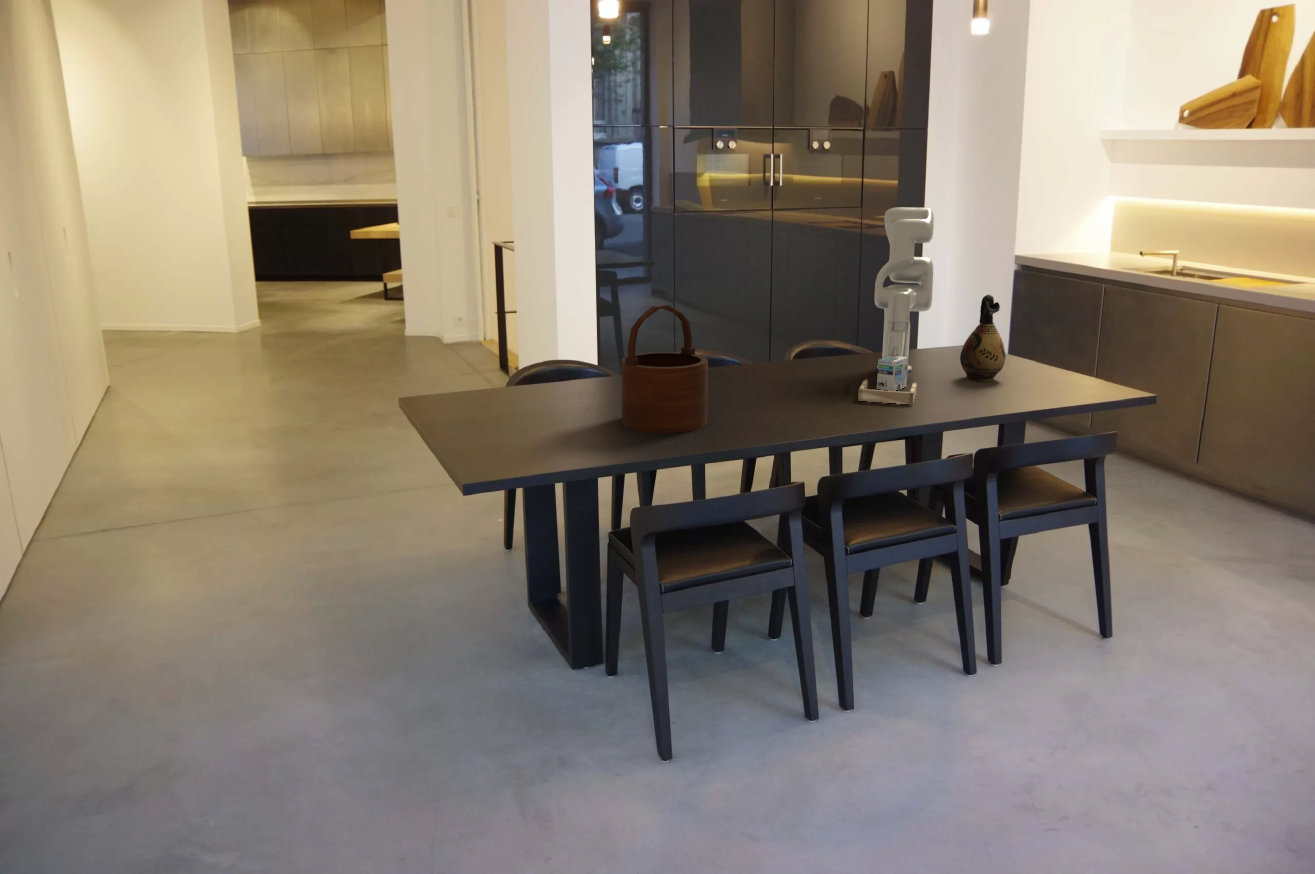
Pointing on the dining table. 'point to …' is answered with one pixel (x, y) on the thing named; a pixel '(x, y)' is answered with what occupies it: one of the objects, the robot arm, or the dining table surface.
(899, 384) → the light bulb box
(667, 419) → the wooden bucket
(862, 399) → the birch stall
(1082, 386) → the dining table surface
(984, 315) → the ceramic jug
